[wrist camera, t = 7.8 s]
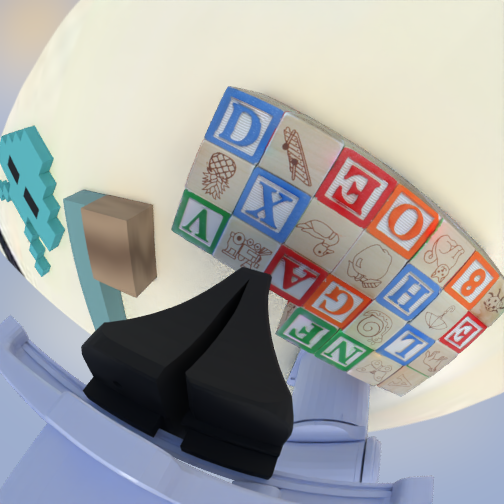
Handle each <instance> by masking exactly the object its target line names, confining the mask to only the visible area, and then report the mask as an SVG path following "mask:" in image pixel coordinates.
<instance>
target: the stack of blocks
mask: <svg viewBox="0 0 504 504" xmlns="http://www.w3.org/2000/svg"><path fill="white" fill-rule="evenodd" d="M185 188H186V189H185V190H184V193H183V196H182V198H181V201H180V204H179V207H178V210H177V213H176V217H175V220H174V223H173V226H172V229H171V230H172V231H173V232H174V233H176V234H178V235H180V236H181V237H183V238H184V239H186V240H187V241H189V242H191V243H192V244H194V245H196V246H197V247H199V248H201V249H202V250H204V251H206V252H207V253H209V254H211V255H212V256H213V257H214V258H216V259H217V260H219V261H221V262H222V263H224V264H226V265H227V266H229V267H231V268H233V269H234V270H236V271H237V270H238V269H240V268H241V267H246V268H250V269H253V270H257V271H260V272H264V273H267V274H270V275H271V276H272V280H271V285H270V289H269V290H271V291H273V292H274V293H276V294H278V295H279V296H281V297H283V298H284V299H286V300H288V303H287V305H286V306H285V309H284V312H283V315H282V318H281V320H280V323H279V326H278V328H277V331H276V333H275V334H276V335H278V336H279V337H281V338H283V339H285V340H286V341H288V342H290V343H292V344H294V345H295V346H297V347H299V348H301V349H303V350H305V351H306V352H308V353H311V354H314V356H315V357H317V358H319V359H320V360H322V361H324V362H326V363H328V364H330V365H332V366H334V367H336V368H337V369H339V370H342V371H346V372H347V373H348V374H349V375H351V376H353V377H355V378H357V379H359V380H362V381H364V382H366V383H368V384H370V385H372V386H375V385H377V386H378V387H381V388H383V389H385V390H387V391H390V392H392V393H394V394H396V395H399V396H403V395H405V394H406V393H408V392H409V391H411V390H412V389H414V388H415V387H417V386H418V385H419V384H421V383H422V382H423V381H425V380H426V379H428V378H429V377H431V376H433V375H434V374H435V373H437V372H438V371H440V370H441V369H442V368H443V367H444V366H446V365H447V364H449V363H450V362H451V361H452V360H453V359H455V358H456V357H457V355H458V354H459V353H461V352H462V351H463V350H464V349H465V348H467V347H468V346H469V345H470V344H471V343H472V342H473V341H474V340H475V339H476V338H477V337H478V336H479V335H481V334H482V333H483V332H484V331H485V329H486V328H487V327H489V326H491V325H492V324H493V323H494V322H495V321H496V320H497V319H498V318H499V317H500V316H501V315H502V313H503V312H504V276H503V275H502V274H501V272H500V271H499V269H498V268H497V267H496V265H495V264H494V263H493V261H492V260H491V259H490V257H489V256H488V255H487V254H486V252H485V251H484V250H483V249H482V248H481V247H480V246H479V245H478V244H477V243H476V242H475V241H474V240H473V239H472V238H471V237H470V236H469V235H468V234H467V233H466V232H465V231H464V230H463V229H462V228H461V227H460V226H459V225H458V224H457V223H456V222H455V221H454V220H453V219H452V218H450V217H449V216H448V215H447V214H446V213H445V212H444V211H443V210H442V209H440V208H439V207H438V206H437V205H436V204H435V203H434V202H432V201H431V200H430V199H429V198H428V197H427V196H425V195H424V194H423V193H422V192H420V191H419V190H418V189H417V188H415V187H414V186H413V185H412V184H411V183H409V182H408V181H407V180H405V179H404V178H403V177H402V176H400V175H399V174H398V173H396V172H395V171H393V170H392V169H391V168H389V167H388V166H387V165H385V164H384V163H382V162H381V161H379V160H378V159H377V158H375V157H374V156H372V155H371V154H369V153H368V152H366V151H365V150H363V149H362V148H360V147H359V146H357V145H356V144H354V143H353V142H351V141H349V140H348V139H346V138H344V137H342V136H341V135H340V134H338V133H336V132H335V131H333V130H331V129H330V128H328V127H326V126H325V125H323V124H321V123H319V122H317V121H316V120H314V119H312V118H310V117H308V116H306V115H304V114H301V113H300V112H298V111H296V110H294V109H292V108H290V107H288V106H286V105H284V104H282V103H280V102H278V101H276V100H274V99H272V98H270V97H268V96H266V95H264V94H261V93H257V92H254V91H249V90H245V89H241V88H236V87H231V86H228V87H227V89H226V91H225V93H224V95H223V97H222V99H221V101H220V103H219V105H218V108H217V110H216V112H215V114H214V116H213V119H212V121H211V123H210V125H209V127H208V130H207V132H206V134H205V139H204V140H203V141H202V143H201V145H200V148H199V150H198V153H197V155H196V158H195V160H194V163H193V165H192V168H191V170H190V173H189V176H188V178H187V181H186V184H185Z"/></svg>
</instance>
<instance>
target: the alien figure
mask: <svg viewBox="0 0 504 504" xmlns="http://www.w3.org/2000/svg"><path fill="white" fill-rule="evenodd" d="M53 159H54V158H53V157H52V155H51V154H50V152H49V150H48V148H47V147H46V145H45V143H44V142H43V140H42V138H41V136H40V135H39V133H38V131H37V129H36V127H35V126H32V127H28V128H24V129H22V130H18V131H15V132H12V133H9V134H7V135H4V136H2V137H1V141H0V164H1V166H2V168H3V170H4V173H5V175H6V177H7V179H8V181H9V182H8V183H7V181H6V180H5V181H3V182H2V181H1V180H0V198H1V200H4V199H6V200H7V202H9V201H11V200H12V201H13V203H14V205H15V207H16V209H17V210H18V212H19V214H20V216H21V218H22V219H23V221H24V223H25V225H26V226H25V231H24V233H25V235H26V237H27V238H28V240H29V241H30V243H31V244H30V249H29V251H30V252H31V254H32V255H33V257H34V258H35V260H36V263H35V268H36V270H37V271H38V273H39V274H40V275H41V277H42V276H44V275H45V274H46V273H48V272H49V269H50V267H51V266H50V264H49V263H48V261H47V260H46V259H45V257H44V256H43V255H44V252H45V248H44V246H43V244H42V243H41V241H40V240H39V236H40V238H41V239H42V241H43V242H44V244H45V245H46V247H47V248H48V250H49V251H51V250H53V249H54V248H56V247H57V246H58V245H59V243H60V240H61V238H62V235H63V233H64V231H65V229H64V227H63V226H62V224H61V223H60V221H59V220H58V218H57V215H58V212H59V209H60V206H59V204H58V202H57V201H56V199H55V198H54V196H53V195H52V194H53V192H54V189H55V186H56V184H57V183H56V182H55V180H54V178H53V177H52V175H51V173H50V172H49V170H50V167H51V164H52V162H53Z"/></svg>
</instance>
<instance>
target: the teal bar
mask: <svg viewBox="0 0 504 504" xmlns="http://www.w3.org/2000/svg"><path fill="white" fill-rule="evenodd" d="M103 196H106V195H105V194H100V193H96V192H91V191H86V190H82V191H79V192H77V193H75V194H73V195H71V196H69V197H67V198H65V199H63V202H64V209H65V215H66V221H67V227H68V233H69V238H70V243H71V247H72V252H73V256H74V261H75V265H76V269H77V273H78V276H79V280H80V284H81V287H82V291H83V294H84V297H85V301H86V304H87V307H88V310H89V313H90V316H91V319H92V322H93V325H94V327H95V330H97V329H98V328H99V327H100V326H101V325H102V324H103V323H104V322H113V321H120V320H126V316H125V312H124V307H123V303H122V298H121V293H120V290H117V289H115V288H113V287H111V286H108V285H106V284H104V283H102V282H100V281H98V280H96V279H94V278H93V273H92V269H91V265H90V260H89V255H88V250H87V245H86V240H85V234H84V228H83V222H82V215H81V208H82V207H84V206H86V205H88V204H90V203H91V202H93V201H95V200H97V199H99V198H101V197H103Z"/></svg>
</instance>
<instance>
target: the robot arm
mask: <svg viewBox="0 0 504 504" xmlns="http://www.w3.org/2000/svg"><path fill="white" fill-rule="evenodd" d="M271 280H272V276H271V275H270V274H267V273H264V272H260V271H257V270H253V269H250V268H246V267H241V268H240V269H238V270H237V271H235V272H234V273H233V274H231V275H230V276H228V277H227V278H226V279H224V280H223V281H221V282H220V283H218V284H216V285H215V286H213V287H212V288H210V289H208V290H207V291H205V292H203V293H201V294H200V295H198V296H196V297H194V298H192V299H190V300H188V301H186V302H184V303H181V304H179V305H177V306H174V307H171V308H169V309H166V310H163V311H160V312H157V313H153V314H150V315H146V316H142V317H137V318H133V319H127V320H120V321H113V322H104V323H103V324H102V325H101V326H100V327H99V328H98V329H97V330H96V331H95V332H94V333H93V334H92V335H91V336H90V337H89V338H88V340H87V341H86V342H85V343H84V344H83V345H82V347H81V348H82V355H83V358H84V360H85V362H86V363H87V366H88V367H89V369H90V371H91V373H92V375H93V378H92V380H91V381H90V382H89V383H88V384H87V385H85V384H84V383H82V382H81V381H79V380H78V379H77V378H75V377H74V376H73V375H71V374H70V373H69V372H67V371H66V370H65V369H63V368H62V367H61V366H60V365H58V364H57V363H56V362H54V360H52V359H51V358H50V357H49V356H48V355H46V354H45V353H44V352H43V351H42V350H41V349H39V348H38V347H37V346H36V345H35V344H34V343H33V342H32V341H31V340H29V338H28V335H27V333H26V332H25V330H24V329H23V327H22V326H21V325H20V324H19V323H18V322H17V321H16V320H15V319H14V318H13V317H12V316H9V317H8V318H6V319H5V320H4V321H3V322H2V323H1V324H0V373H1V374H2V375H3V376H4V378H5V379H6V380H7V381H8V383H9V384H10V385H11V386H12V387H13V388H14V390H15V391H16V392H17V393H18V394H19V395H20V396H21V397H22V398H23V399H24V401H25V402H27V404H28V405H29V406H30V407H31V408H32V409H33V410H34V411H35V412H36V413H37V414H38V415H39V416H40V417H41V418H42V419H43V420H45V421H46V422H47V425H46V426H45V427H44V429H43V430H42V431H41V432H40V434H39V435H38V436H37V438H36V439H35V440H34V442H33V443H32V444H31V446H30V447H29V449H28V450H27V451H26V453H25V454H24V456H23V457H22V458H21V460H20V461H19V462H18V464H17V465H16V467H15V468H14V470H13V471H12V473H11V474H10V475H9V477H8V478H7V480H6V481H5V483H4V484H3V486H2V487H1V489H0V504H432V500H433V484H434V477H433V476H420V477H408V478H404V479H400V480H398V481H397V482H395V483H378V479H379V470H380V458H381V442H380V441H378V440H377V439H376V437H374V436H373V437H369V438H368V435H367V429H368V415H369V392H370V384H368V383H366V382H364V381H362V380H359V379H357V378H355V377H353V376H351V375H349V374H348V373H347V372H346V371H342V370H339V369H337V368H336V367H334V366H332V365H330V364H328V363H326V362H324V361H322V360H320V359H319V358H317V357H315V356H314V354H311V353H308V352H306V351H305V350H303V349H300V352H299V354H298V356H297V359H296V361H295V363H294V366H293V368H292V370H291V373H290V375H289V377H288V379H287V384H288V385H291V386H294V390H293V394H292V395H291V393H290V391H289V389H288V387H287V385H286V382H285V380H284V377H283V375H282V372H281V370H280V367H279V363H278V360H277V357H276V354H275V350H274V346H273V342H272V337H271V331H270V324H269V315H268V294H269V289H270V285H271ZM175 458H177V459H179V460H181V461H184V462H186V463H188V464H191V465H193V466H196V467H198V468H201V469H203V470H206V471H209V472H211V473H214V474H217V475H220V476H223V477H226V478H229V479H232V480H235V481H233V482H232V483H229V482H226V481H224V480H221V479H219V478H216V477H214V476H211V475H209V474H207V473H204V472H202V471H200V470H198V469H196V468H193V467H191V466H189V465H187V464H185V463H183V462H181V461H179V460H177V459H175Z"/></svg>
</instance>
